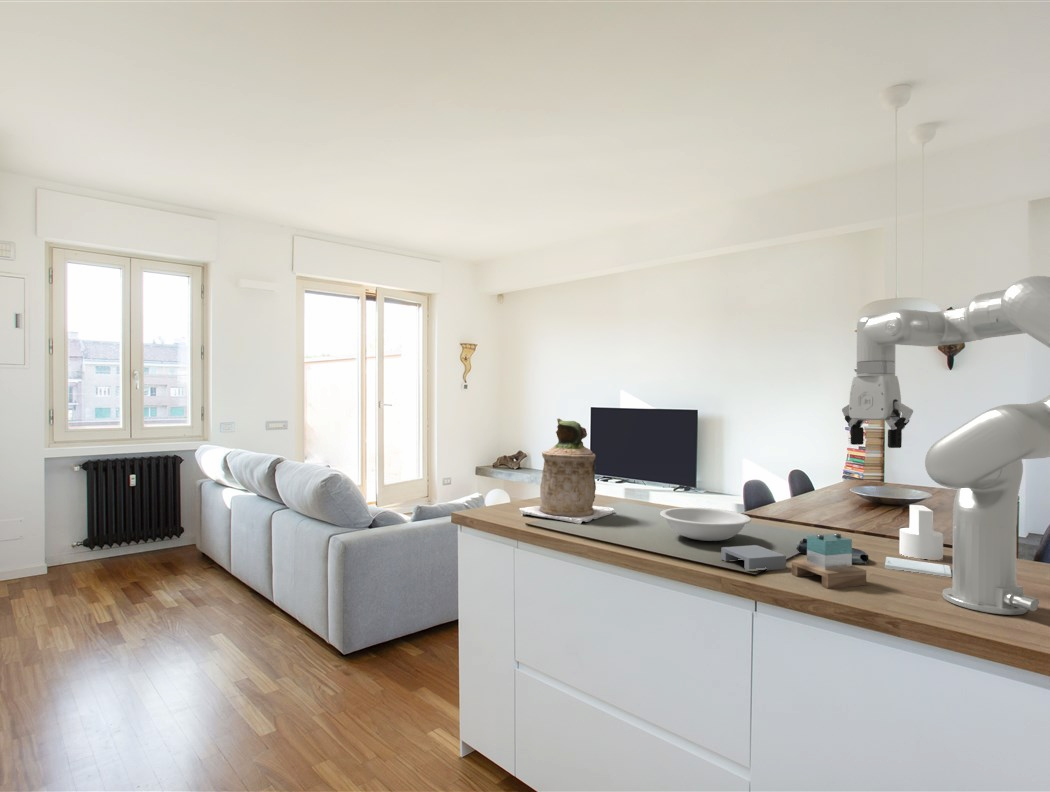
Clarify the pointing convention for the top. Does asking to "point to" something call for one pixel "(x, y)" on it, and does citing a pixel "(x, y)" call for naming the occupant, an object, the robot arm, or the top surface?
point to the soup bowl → (705, 522)
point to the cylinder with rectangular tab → (921, 535)
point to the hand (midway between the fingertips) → (875, 446)
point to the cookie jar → (568, 479)
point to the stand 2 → (831, 575)
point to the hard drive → (917, 566)
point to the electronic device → (856, 553)
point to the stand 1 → (755, 557)
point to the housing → (829, 551)
